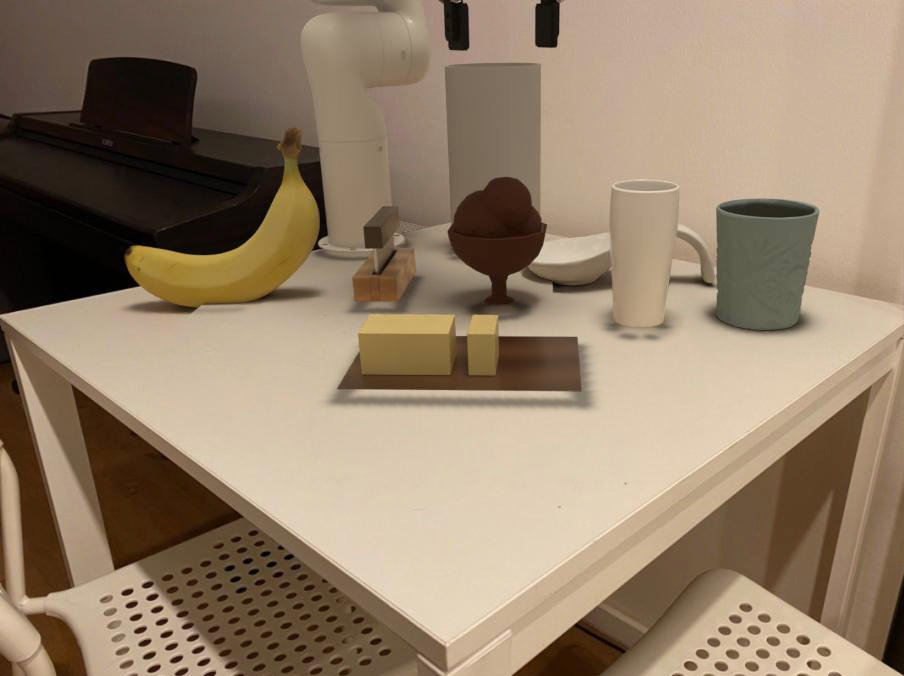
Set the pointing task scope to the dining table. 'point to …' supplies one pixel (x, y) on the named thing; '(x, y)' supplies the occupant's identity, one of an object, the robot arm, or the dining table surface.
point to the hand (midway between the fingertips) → (503, 48)
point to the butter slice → (483, 345)
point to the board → (517, 369)
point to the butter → (407, 344)
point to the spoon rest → (598, 258)
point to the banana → (239, 250)
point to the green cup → (763, 261)
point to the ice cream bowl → (498, 233)
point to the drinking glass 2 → (642, 249)
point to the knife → (382, 236)
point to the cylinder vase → (493, 127)
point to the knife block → (385, 277)
